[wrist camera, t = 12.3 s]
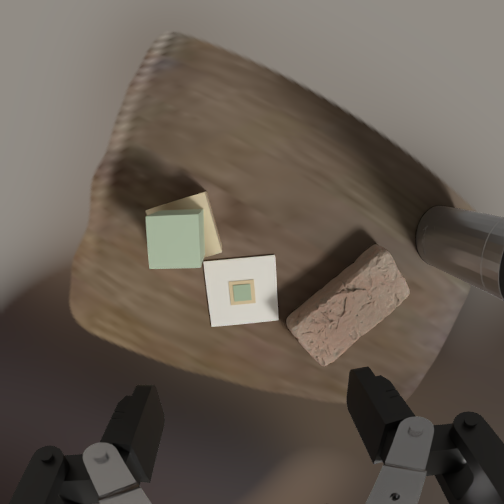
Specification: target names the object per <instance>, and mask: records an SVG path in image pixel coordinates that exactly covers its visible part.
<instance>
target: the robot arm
mask: <svg viewBox="0 0 504 504" xmlns="http://www.w3.org/2000/svg"><path fill="white" fill-rule="evenodd" d="M416 246H417V250H418V253H419V255H420V257H421V258H422V259H423V260H424V261H425V262H426V263H427V264H430V265H432V266H434V267H436V268H438V269H440V270H442V271H444V272H446V273H448V274H450V275H453V276H455V277H457V278H459V279H461V280H463V281H465V282H467V283H469V284H471V285H473V286H475V287H477V288H479V289H481V290H484V291H485V292H487V293H489V294H492V295H493V296H495V297H497V298H499V299H501V300H503V301H504V217H499V216H494V215H489V214H485V213H479V212H474V211H469V210H463V209H458V208H453V207H447V206H435V207H432V208H431V209H429V210H428V211H427V212H426V213H425V214H424V215H423V217H422V218H421V220H420V223H419V225H418V228H417V233H416ZM347 407H348V411H349V413H350V415H351V417H352V419H353V421H354V424H355V426H356V428H357V430H358V432H359V434H360V436H361V438H362V440H363V443H364V445H365V447H366V449H367V451H368V453H369V456H370V458H371V460H372V462H373V464H376V463H380V462H383V463H384V465H383V467H382V469H381V472H380V474H379V476H378V479H377V481H376V483H375V485H374V487H373V490H372V491H371V494H370V496H369V498H368V500H367V502H366V504H417V503H418V500H419V497H420V494H421V491H422V488H423V484H424V480H425V477H426V476H429V475H435V477H436V479H437V481H438V483H439V485H440V486H441V488H442V491H443V492H444V494H445V496H446V498H447V500H448V502H449V504H504V444H503V442H502V441H501V440H500V438H499V437H498V436H497V435H496V433H495V432H494V431H493V429H492V428H491V427H490V426H489V424H488V423H487V422H486V421H485V420H484V418H483V417H482V416H481V415H479V414H477V413H474V412H463V413H460V414H459V415H457V416H456V417H455V419H454V421H453V424H445V425H433V424H432V423H431V422H430V421H429V420H427V419H425V418H423V417H416V416H415V415H414V413H413V412H412V411H411V409H410V408H409V407H408V405H407V404H406V402H405V401H404V400H403V398H402V397H401V396H400V394H399V393H398V391H397V390H395V387H394V386H393V384H392V383H391V382H390V381H389V380H388V379H386V378H384V377H383V376H381V375H380V376H375V375H374V374H373V372H372V371H371V369H370V368H369V367H363V368H357V369H352V370H350V373H349V382H348V390H347ZM164 422H165V419H164V412H163V409H162V405H161V402H160V399H159V395H158V392H157V389H156V387H155V385H137V386H136V388H135V390H134V392H133V394H132V396H125V397H124V398H123V399H122V400H121V401H120V402H119V403H118V405H117V407H116V409H115V413H113V415H112V418H111V420H110V422H109V424H108V426H107V428H106V430H105V432H104V435H103V437H102V439H101V441H100V443H96V444H93V445H91V446H89V447H88V448H87V449H86V450H85V451H84V453H83V454H81V455H67V456H64V454H63V453H62V451H61V450H60V449H59V448H57V447H55V446H45V447H42V448H40V449H38V450H37V451H36V452H35V453H34V455H33V457H32V458H31V460H30V462H29V464H28V466H27V468H26V470H25V472H24V474H23V476H22V478H21V480H20V482H19V484H18V486H17V488H16V490H15V492H14V495H13V497H12V499H11V501H10V503H9V504H95V503H100V504H151V502H150V501H149V499H148V498H147V497H146V495H145V493H144V492H143V491H142V489H141V487H140V482H149V483H150V481H151V477H152V472H153V468H154V464H155V460H156V456H157V452H158V448H159V444H160V440H161V436H162V432H163V428H164Z"/></svg>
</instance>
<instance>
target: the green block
mask: <svg viewBox="0 0 504 504" xmlns="http://www.w3.org/2000/svg"><path fill="white" fill-rule="evenodd" d="M146 233H147V246H148V258H149V269H168V268H201V265H202V262H203V259H204V255H205V239H204V210H203V209H185V210H163V211H157V212H155V213H153V214H150V215H148V216H146Z"/></svg>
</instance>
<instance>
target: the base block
mask: <svg viewBox="0 0 504 504" xmlns="http://www.w3.org/2000/svg"><path fill="white" fill-rule="evenodd" d="M185 209H203V210H204V239H205V255H204V257H207V256H211V255H214V254H218V253H221V252H222V243H221V239H220V236H219V232H218V229H217V225H216V222H215V218H214V215H213V212H212V208H211V205H210V201H209V197H208V194H207V191H206V192H202V193H199V194H196V195H192V196H189V197H186V198H182V199H179V200H176V201H173V202H170V203H166V204H163V205H160V206H157V207H154V208H151V209H148V210H145V211H146V214H147V216H148V215H150V214H153V213H155V212H157V211H163V210H185Z"/></svg>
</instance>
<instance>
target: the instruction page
mask: <svg viewBox="0 0 504 504" xmlns="http://www.w3.org/2000/svg"><path fill="white" fill-rule="evenodd" d="M203 264H204V272H205V280H206V288H207V296H208V304H209V311H210V318H211V325H212V327H214V326H226V325H237V324H247V323H257V322H267V321H275V320H279V318H278V298H277V280H276V263H275V255H267V256H256V257H246V258H235V259H224V260H213V261H203Z"/></svg>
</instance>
